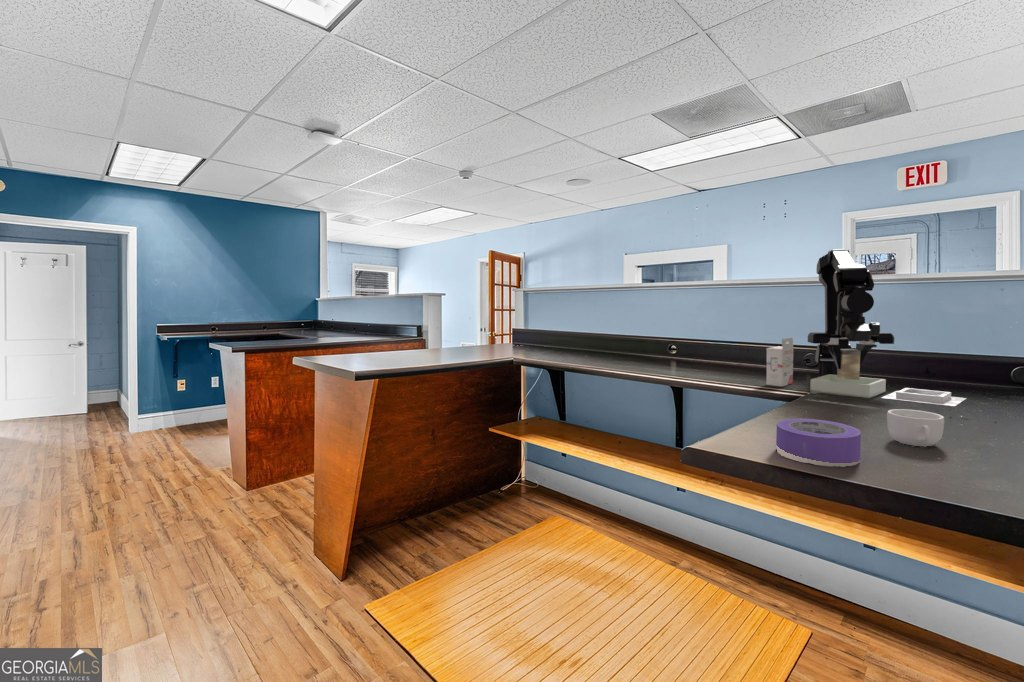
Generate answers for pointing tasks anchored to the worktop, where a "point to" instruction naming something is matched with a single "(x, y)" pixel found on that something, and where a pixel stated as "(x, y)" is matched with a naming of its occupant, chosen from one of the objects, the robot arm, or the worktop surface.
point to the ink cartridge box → (780, 364)
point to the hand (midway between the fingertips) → (848, 369)
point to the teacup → (915, 427)
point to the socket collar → (925, 396)
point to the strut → (849, 364)
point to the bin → (848, 386)
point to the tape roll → (819, 440)
